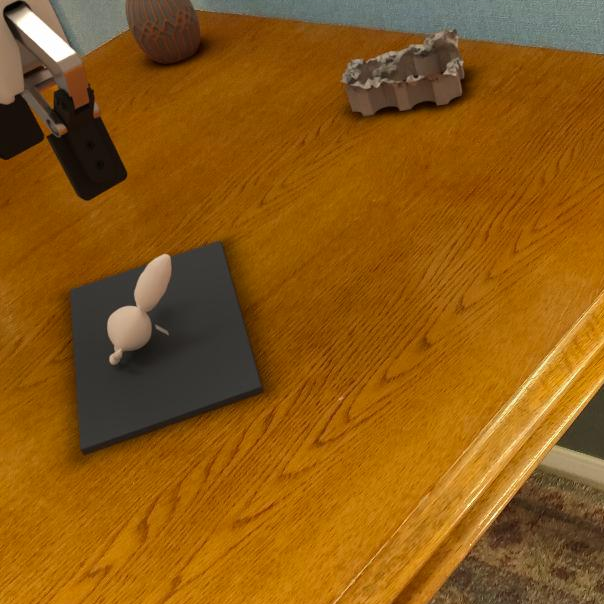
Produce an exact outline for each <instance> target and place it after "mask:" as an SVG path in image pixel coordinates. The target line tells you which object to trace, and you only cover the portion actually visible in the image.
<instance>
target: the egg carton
mask: <svg viewBox="0 0 604 604" xmlns="http://www.w3.org/2000/svg"><path fill="white" fill-rule="evenodd" d="M459 41H460V40H459V33H458V30H457V29H456V28H454V29H451V30H447V29H444V30H441V31H440V32H433V33H432V34H429V35H426V36H425V38H424V41H423V43H419V44H417V43H416V44H415V43H412V44H409V45H408V47H407V48H404V49H401V50H399V51H394V50H393V51H392V50H390V51H388V52H384V53H382V54H380V55H377V56H375V58H373V57H371V58H369V59H368V60H367V61H365V59H364V57H362V58H355V59H353V58H351V60H350V62H348V63H347V68H346V69H345V70H344V73H342V79H341V80H340V82H341V83H342V84H344V85H345V92H346V95H347V98H348V102H349V105H350V108H351V111H352V113H353V112H355V113H356V112H357V113H361V114H362V116H363V117H368V116H374V115H375V114H376V112H377V111H380V110H381V109H383V108H388V107H395V108H396V109H397V108H398V110H399V111H401V112H402V111H408V110H412V109H413V107H414V106H416V105H417V104H420V103H423V102H433V103H435V104H436V106H445V105H448V104H449V102H450V101H451V100H453V99H455V98H458V97H461V96H462V94H463V88H462V83H461V80H464V79H465V71H464V59H463V57H462V55H461V51H459V48H458V46H459ZM416 76H417V77H416Z"/></svg>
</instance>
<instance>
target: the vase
mask: <svg viewBox="0 0 604 604" xmlns="http://www.w3.org/2000/svg"><path fill="white" fill-rule="evenodd" d="M124 7H125V8H124V9H125V16H126V17H125V18H126V22H127V25H128V28H129V31H130V34H131V35H132V37H133V39H134V41H135V42H136V44H137V46H138V47H139V48H140V50H141V51H142V52H143V53H144V54H145V55H146V56H147V57H148V58H150V59H151V60H153V61H154V62H156V63H159V64H162V65H163V64H164V65H166V64H173V63H178V62H182V61H185V60H187V59H188V58H190V57H191V56H192V57H193V55H194V54H195V53H196V52H197V51H198V49H199V47H200V43H201V26H200V21H199V17H198V14H197V12H196V9H195V7H194V5H193V3H192V2H191V0H125V5H124Z"/></svg>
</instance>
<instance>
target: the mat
mask: <svg viewBox="0 0 604 604" xmlns="http://www.w3.org/2000/svg"><path fill="white" fill-rule="evenodd" d="M170 259H171V277H170V280H169V283H168V286H167V289H166V291H165V293H164V295H163V296H162V297H161V299H160V300H159V302H158V303H157V305H156V306H155V307H154V308H153V309H152V310H151V311H149V312H146V314H147V315H148V316H149V318H150V321H151V327H152V332H151V337H150V339H149V341H148V342H147V343H146V344H145V345H144V346H143V347H141V348H139V349H137V350H134V351H124V352H123V353H122V357H121V359H120V362H119V363H118V364H116V365H112V364H111V363H110V361H109V360H110V356H111V355H112V354H113V353H115V349H114V345H113V343H112V342H111V340H110V338H109V336H108V330H107V323H108V319H109V317H110V316H111V315H112V314H113V313H114V312H115V311H116V310H118V309H120V308H122V307H125V306H135V307H137V305H136V301H135V297H134V291H135V288H136V285H137V282H138V279H139V277H140V275H141V274H142V273H143V272H144V270H145V268H146V267H147V265H148V264H149V263H148V264H144V265H141V266H138V267H136V268H135V267H134V268H131V269H128V270H126V271H122V272H119V273H117V274H114V275H110V276H108V277H105V278H101V279H99V280H96V281H93V282H90V283H89V282H88V283H86V284H84V285H81V286H78V287H75V288H71V289H69V300H70V311H71V328H72V343H73V358H74V373H75V374H74V375H75V384H76V385H75V389H76V398H77V399H76V403H77V415H78V417H77V418H78V431H79V432H78V433H79V434H78V435H79V447H80V451H81V452H82V454H83V455H84V456H85V455H88V454H91V453H93V452H96V451H99V450H102V449H105V448H107V447H111V446H114V445H117V444H119V443H122V442H125V441H128V440H130V439H133V438H136V437H140V436H142V435H145V434H149V433H150V432H154V431H156V430H157V431H158V430H159V429H162V428H165V427H168V426H170V425H174V424H176V423H179V422H182V421H186V420H188V419H191V418H193V417H196V416H199V415H202V414H205V413H207V412H211V411H214V410H216V409H219V408H222V407H225V406H228V405H231V404H234V403H236V402H239V401H242V400H245V399H248V398H251V397H254V396H256V395H259V394H263V393H264V392H265V390H264V387H263V383H262V380H261V377H260V372H259V369H258V366H257V362H256V358H255V355H254V352H253V351H254V350H253V348H252V344H251V341H250V338H249V333H248V330H247V326H246V323H245V319H244V316H243V312H242V309H241V305H240V301H239V298H238V295H237V290H236V286H235V284H234V280H233V276H232V273H231V269H230V266H229V265H230V264H229V262H228V259H227V255H226V252H225V248H224V245H223V242H222V241H221V240H217V241H213V242H211V243H208V244H205V245H202V246H199V247H195V248H193V249H190V250H187V251H184V252H181V253H178V254H174V255H172V256H171V255H170ZM155 325H157V326H159V327H161V328H163V329H165V330H167V331H168V334H169V335H167V334H165V333H163V332H162V331H160V330H158V329H156V326H155Z"/></svg>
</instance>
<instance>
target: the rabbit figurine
mask: <svg viewBox="0 0 604 604" xmlns="http://www.w3.org/2000/svg"><path fill="white" fill-rule="evenodd" d="M170 257H171V255H169V254H167V253H163V254H161V255H159V256H157V257H155V258H153V260H151V261H150V262H149V263H148V265H147V264H146V265H147V267H146V268H145V270H144V272H143V273H142V274H141V275H140V277H139V279H138V282H137V285H136V288H135V291H134V297H135V301H136V305H137V307H135V306H125V307H122V308H120V309H118V310H116V311H115V312H114V313H113V314H112V315H111V316H110V317H109V319H108V323H107V330H108V336H109V338H110V340H111V342H112V343H113V345H114V349H115V353H113V354H112V355H111V356H110V360H109V361H110V363H111V364H112V365H116V364H118V363H119V362H120V359H121V357H122V353H123V352H124V351H134V350H137V349H139V348H141V347H143V346H144V345H145V344H146V343H147V342H148V341H149V339H150V337H151V332H152V327H151V321H150V318H149V316H148V315H147V314H146V312H149V311H151V310H152V309H153V308H154V307H155V306H156V305H157V303H158V302H159V300H160V299H161V297H162V296H163V295H164V293H165V291H166V289H167V286H168V283H169V280H170V277H171V259H170ZM155 326H156V329H158V330H160V331H162V332H163V333H165V334H167V335H169V334H168V331H167V330H165V329H163V328H161V327H159V326H157V325H155Z"/></svg>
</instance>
